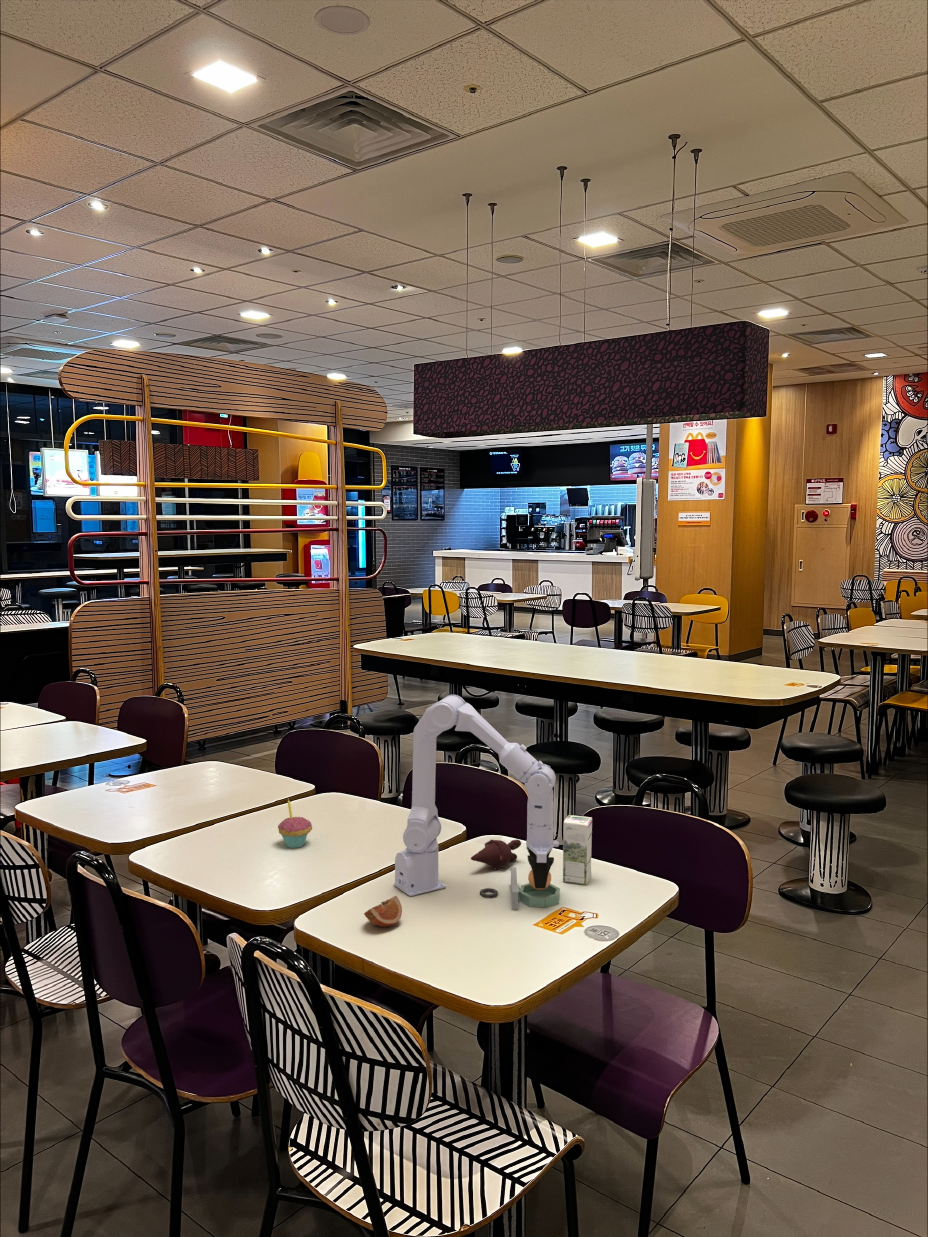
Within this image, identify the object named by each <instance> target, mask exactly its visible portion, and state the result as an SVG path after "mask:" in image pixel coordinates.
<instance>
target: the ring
mask: <svg viewBox="0 0 928 1237" xmlns="http://www.w3.org/2000/svg"><path fill="white" fill-rule="evenodd" d="M498 894H499V890H497V889H495V888H490V887H485V888H481V889H480V890H479V896H480V897H481V898H484V899H485V898H486V899H493V898H496V897H498Z"/></svg>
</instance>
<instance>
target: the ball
mask: <svg viewBox="0 0 928 1237" xmlns="http://www.w3.org/2000/svg"><path fill="white" fill-rule="evenodd" d="M527 878H528V883H530V885H531V886H532V887H533V888H535V884H534V877H533V872H532V869H530V871H529V873H528V877H527ZM550 884H552V875H551V872H550V871H549V874H548V878H547V883H546V887H545V888H535V889H537V890H543V889H546V888H547V887H548V886H549V885H550Z"/></svg>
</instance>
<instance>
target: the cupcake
mask: <svg viewBox="0 0 928 1237" xmlns="http://www.w3.org/2000/svg"><path fill="white" fill-rule="evenodd" d="M287 805H288V806H287V807H288V813H289V817H287V818H284V819H283V820H282V821H281V822H280V823H279V824H278V825H277V829H278V833H279V835H281V836H282V840H283V841H284V845H285V847H287V848H290V849H291V848H292V849H297V848H302V847H304V846H305V842H306V841H307V840H306V839H307V836H308V835H309V833H310V832H311V831H312V830H313V825H312V822H311V821H310V820H308V819H306V818H305V817H301V816H293V810H292V804H291V801H290V800H289V798H287Z"/></svg>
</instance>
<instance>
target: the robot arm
mask: <svg viewBox="0 0 928 1237" xmlns="http://www.w3.org/2000/svg"><path fill="white" fill-rule="evenodd" d="M454 726H455V729H454V731H456V732H469V733H471V734H473V735H474V736H475V737H476V738H478V739H479V740H480V741H481V742H483V743H484V744H485V745H486V746H488V747H489V748H490V749H491V750H492V751H494V752H495V753H496V754H498V759H499V764H501V765H502V766H503V767H505V769H507V771H509V772H510V773H511V774H512V775H513V776H514V777H516V779H518V780H519V781H520V783H521V782H522V783H524V789H525V791H526V792H527V802H526V803H527V807H526V808H527V810H526V812H527V813H526V814H527V817H526V820H527V821H526V822H527V823H526V829H527V830H526V842H525V845H526V850H527V852H528V855H527V861H528V863H529V866H530V868H531V870H532V872H533V877H534V884H535V888H545V887H546V883H547V878H548V874H549V872H550V870H551V868H552V866H553V864H554V862H555V857H554V856H553V857H552V856H551V857H550V854H551V852H552V851H553V848H556V847H557V848H558V847H559V846H560V843H559V841H558V840H554V820H555V818H554V815H555V814H554V812H555V810H554V809H555V808H554V806H555V803H554V796H555V795H554V789H553V788H554V786H555V784H556V780H557V776H556V774H555V771H554V770H553V769H552V768H551V766H550V765H548V764H545V763H543V762H542V760H537V759H536V757H534V756H533V755H531V754H530V753H529V752H528V751H527V748H528V747H526V745H524V744H519V743H518V742H509V741H507V740H506V739H505V738H504V737H503V735H502V734H500V732H498V730H496V729H495V728H494V727H493V726H492V725H491V724H490V723H489V722H488V721H487V720H486V719H485V718H484V717H483V716H482V715H481V714H480V713H479V712H478V711H477V710H476V709H475V708H474V707H473V705H471V704H470V703H468V702H466V701H465V700H464V699H463V698H462V697H461V696H460V695H457V694H449V695H446V696H445V697H443V698H442V699H441V700H439V701H437V702H435V703H433V704H431V706H429V707H428V708H426V709H425V711H424V713H423V715H422V717H420V718H419V720H418V722H417V724H416V725H415V726H414V728H413V733H412V734H413V735H412V736H413V741H412V743H413V744H412V745H413V746H412V784H411V785H412V786H411V787H412V789H411V790H412V791H411V794H412V795H411V808H410V812H409V814H408V818H407V825H406V828H405V829H404V832H403V835H402V839H403V844H404V846H405V849H403V850H402V851H400V852H398V853H396V855H395V860H394V882H393V886H395V887H396V888H397V889H399V890H400V891H402V892H403V893H404V894H406V895H407V896H409V897H413V896H417V895H421V894H425V893H428V892H432V891H437V890H441V889H445V888H446V887H447V884H445V883H443V882H442V881H440V880H439V843H438V839H437V838H438V837H439V836H440V834H441V831H442V823H441V821H440V819H439V815H438V814H439V813H438V808H437V806H436V803H435V802H436V770H437V769H436V768H437V767H436V766H437V765H436V764H437V763H436V762H437V738H438V736H439V735H441V734H442V733H443V732H446V731H448V730H450V729H452V728H453V727H454Z"/></svg>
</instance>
